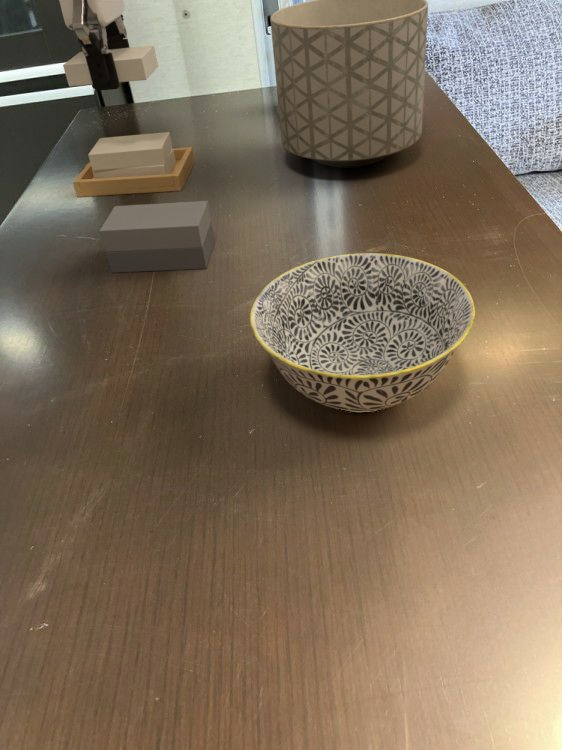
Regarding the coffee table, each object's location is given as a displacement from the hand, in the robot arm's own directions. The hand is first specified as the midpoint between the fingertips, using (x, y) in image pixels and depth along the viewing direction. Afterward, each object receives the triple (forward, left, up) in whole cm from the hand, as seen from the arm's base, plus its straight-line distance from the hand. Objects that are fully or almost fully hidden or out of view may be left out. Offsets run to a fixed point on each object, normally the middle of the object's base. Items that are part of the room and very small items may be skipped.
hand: (115, 79), depth 80 cm
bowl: (+30, -46, -13) cm, 56 cm away
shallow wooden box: (0, 0, -13) cm, 13 cm away
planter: (+30, +3, -13) cm, 33 cm away
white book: (0, 0, 0) cm, 0 cm away
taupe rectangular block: (0, 0, -13) cm, 13 cm away
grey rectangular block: (+9, -24, -13) cm, 28 cm away
